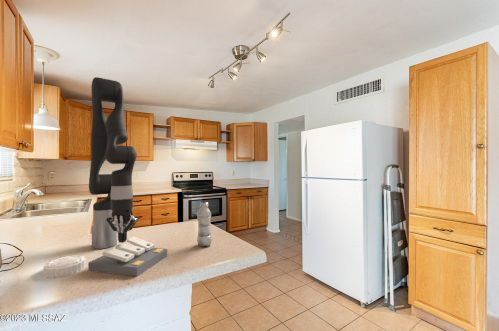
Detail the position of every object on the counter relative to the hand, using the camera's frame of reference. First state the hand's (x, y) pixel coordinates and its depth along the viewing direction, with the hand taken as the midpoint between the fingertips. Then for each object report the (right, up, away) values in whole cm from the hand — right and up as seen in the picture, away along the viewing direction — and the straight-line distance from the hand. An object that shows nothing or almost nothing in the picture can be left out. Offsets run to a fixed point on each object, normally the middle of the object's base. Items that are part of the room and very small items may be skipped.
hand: (122, 242), depth 92 cm
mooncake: (-17, -9, -6) cm, 20 cm away
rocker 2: (+5, -2, +5) cm, 7 cm away
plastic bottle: (+28, -8, +18) cm, 35 cm away
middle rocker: (+3, -2, -1) cm, 4 cm away
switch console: (+3, -8, -1) cm, 9 cm away
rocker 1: (+2, -2, -7) cm, 7 cm away
